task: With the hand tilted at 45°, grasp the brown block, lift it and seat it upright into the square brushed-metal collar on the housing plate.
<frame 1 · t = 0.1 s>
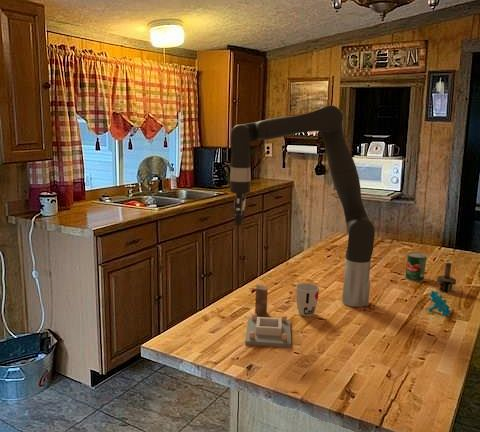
hand: (239, 222, 186), 29 cm above the table, tool pointing down, fingers open, 8 cm apart
housing plate: (268, 333, 161), on the table
canned tomato: (414, 279, 219), on the table
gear: (439, 313, 182), on the table
brown block: (260, 314, 176), on the table
cup: (305, 314, 177), on the table
industrial component: (445, 290, 206), on the table
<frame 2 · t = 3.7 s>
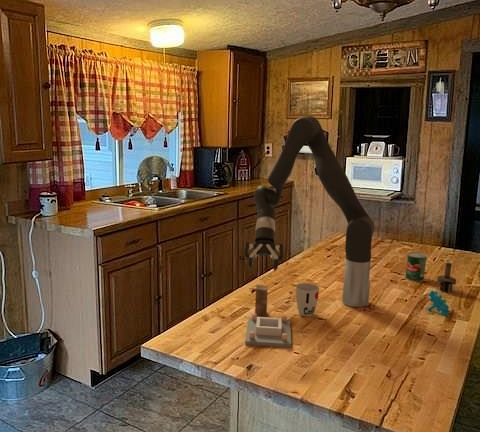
hand: (263, 269, 181), 14 cm above the table, tool tilted 45°, fingers open, 8 cm apart
nothing on the table moved.
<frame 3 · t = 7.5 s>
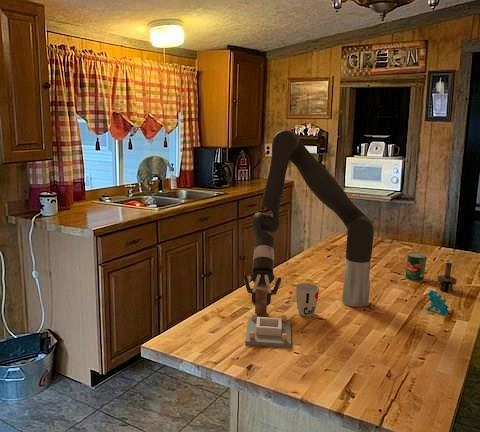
hand: (261, 304, 173), 5 cm above the table, tool tilted 45°, fingers closed on brown block, 4 cm apart
brown block: (260, 314, 176), on the table, touching gripper
everything else where it was.
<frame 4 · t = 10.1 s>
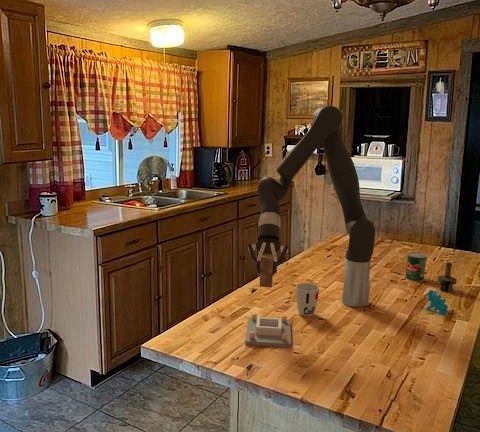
hand: (266, 273, 161), 19 cm above the table, tool tilted 45°, fingers closed on brown block, 4 cm apart
brown block: (266, 284, 164), point 14 cm above the table, touching gripper
when the fingers open (6 cm above the table, at t = 13.3 s): brown block stays where it is, resting on housing plate.
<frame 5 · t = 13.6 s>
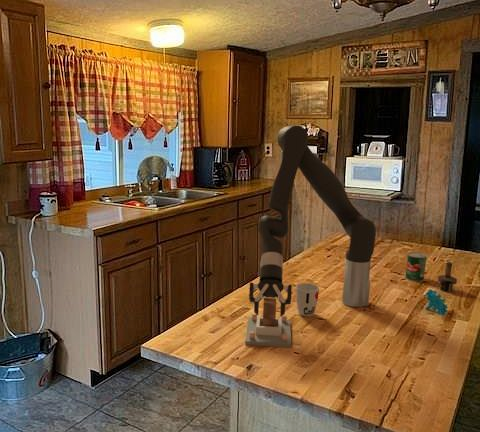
hand: (269, 314, 158), 7 cm above the table, tool tilted 45°, fingers open, 7 cm apart
brown block: (268, 329, 161), point 1 cm above the table, touching housing plate
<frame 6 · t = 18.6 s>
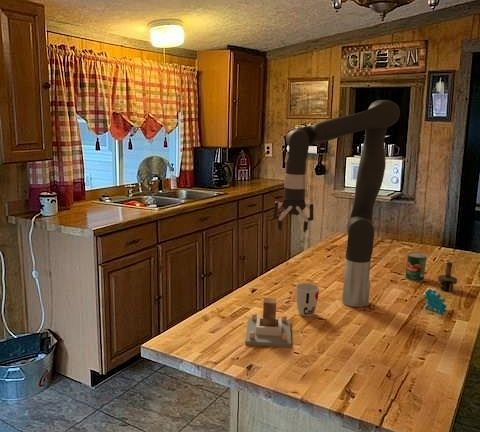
hand: (292, 230, 180), 28 cm above the table, tool pointing down, fingers open, 8 cm apart
at the end: brown block 0.0 cm off-centre on the housing plate, point 1.2 cm above the housing plate's base; brown block tilted 0°; the gripper is holding nothing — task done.
